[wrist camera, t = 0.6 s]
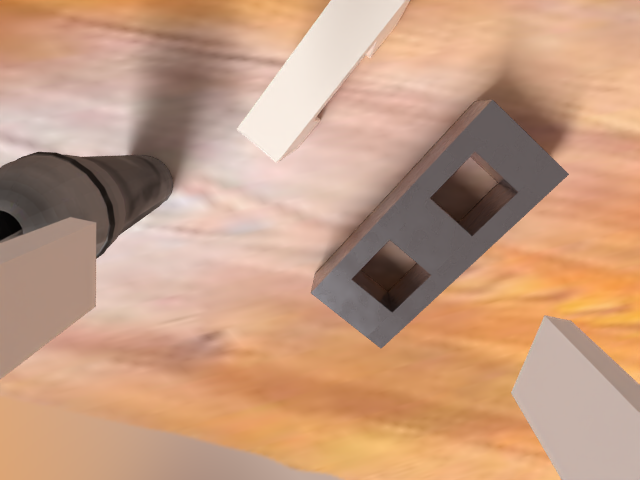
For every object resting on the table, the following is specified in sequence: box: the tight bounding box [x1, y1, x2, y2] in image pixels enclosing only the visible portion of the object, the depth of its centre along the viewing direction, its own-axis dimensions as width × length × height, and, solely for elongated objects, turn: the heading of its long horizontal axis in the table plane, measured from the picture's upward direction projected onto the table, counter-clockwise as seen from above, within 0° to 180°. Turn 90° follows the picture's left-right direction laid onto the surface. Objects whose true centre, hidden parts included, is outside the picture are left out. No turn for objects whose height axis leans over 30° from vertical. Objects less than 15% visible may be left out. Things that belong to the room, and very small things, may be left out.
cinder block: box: [311, 100, 569, 348], centre depth 32 cm, size 8×20×4 cm, turn 140°
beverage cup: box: [0, 152, 173, 259], centre depth 25 cm, size 7×7×20 cm
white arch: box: [237, 0, 410, 163], centre depth 26 cm, size 12×3×10 cm, turn 140°
